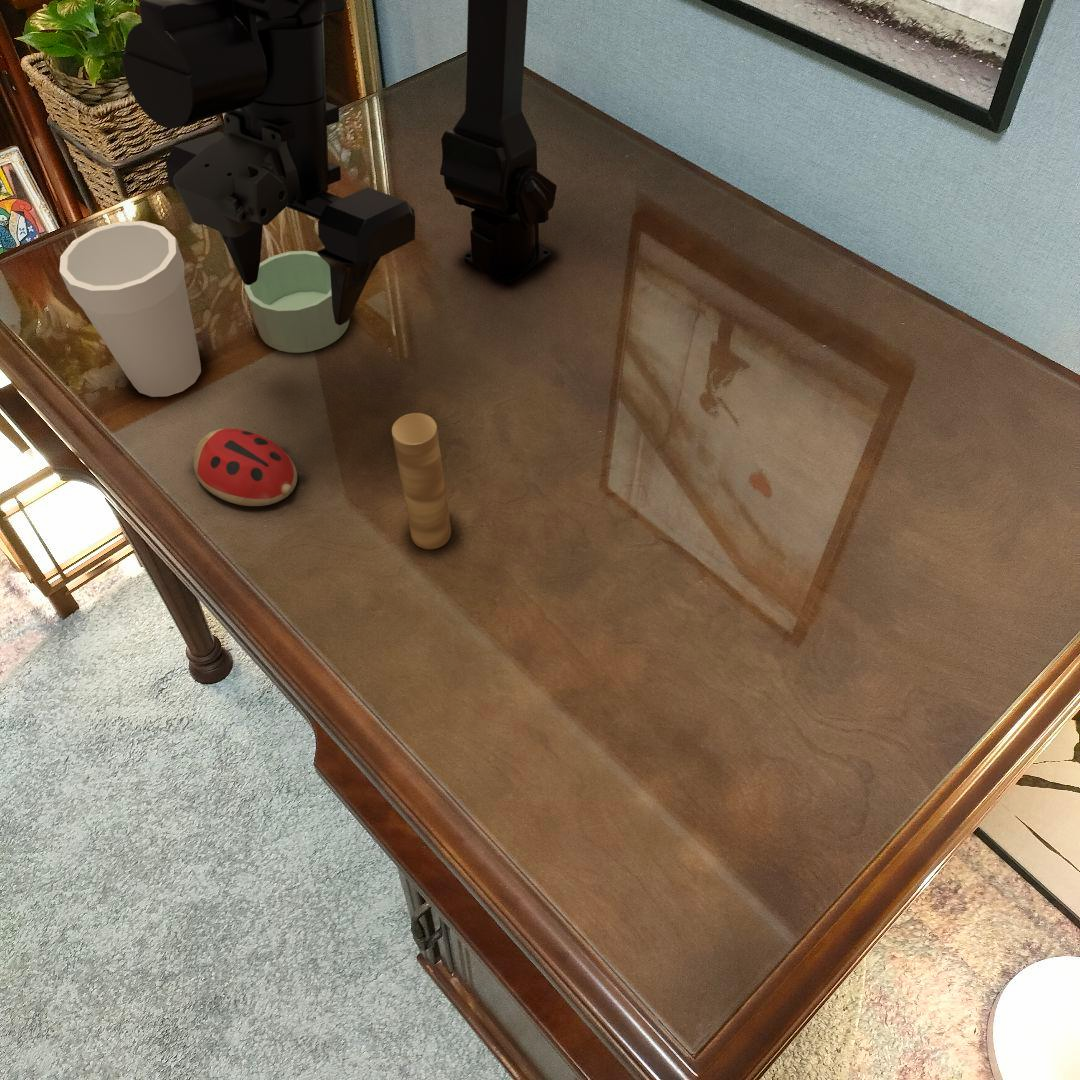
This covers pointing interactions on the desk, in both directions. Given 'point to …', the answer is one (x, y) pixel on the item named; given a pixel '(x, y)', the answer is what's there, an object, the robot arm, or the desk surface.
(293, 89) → the robot arm
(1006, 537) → the desk surface
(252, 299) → the celadon cup
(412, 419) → the pestle
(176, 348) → the foam cup
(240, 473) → the ladybug figurine
